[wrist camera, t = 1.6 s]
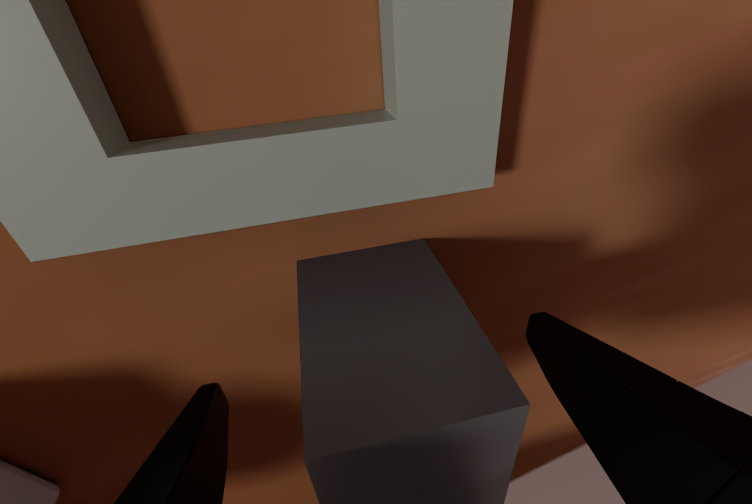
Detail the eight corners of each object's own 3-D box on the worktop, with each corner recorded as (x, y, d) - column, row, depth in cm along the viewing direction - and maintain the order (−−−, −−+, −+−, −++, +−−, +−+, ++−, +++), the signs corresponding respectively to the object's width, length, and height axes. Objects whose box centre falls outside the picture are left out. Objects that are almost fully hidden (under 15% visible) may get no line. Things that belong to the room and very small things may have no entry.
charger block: (424, 328, 13) (503, 504, 8) (318, 350, 13) (337, 552, 8) (423, 237, 11) (530, 404, 6) (296, 260, 11) (304, 461, 6)
